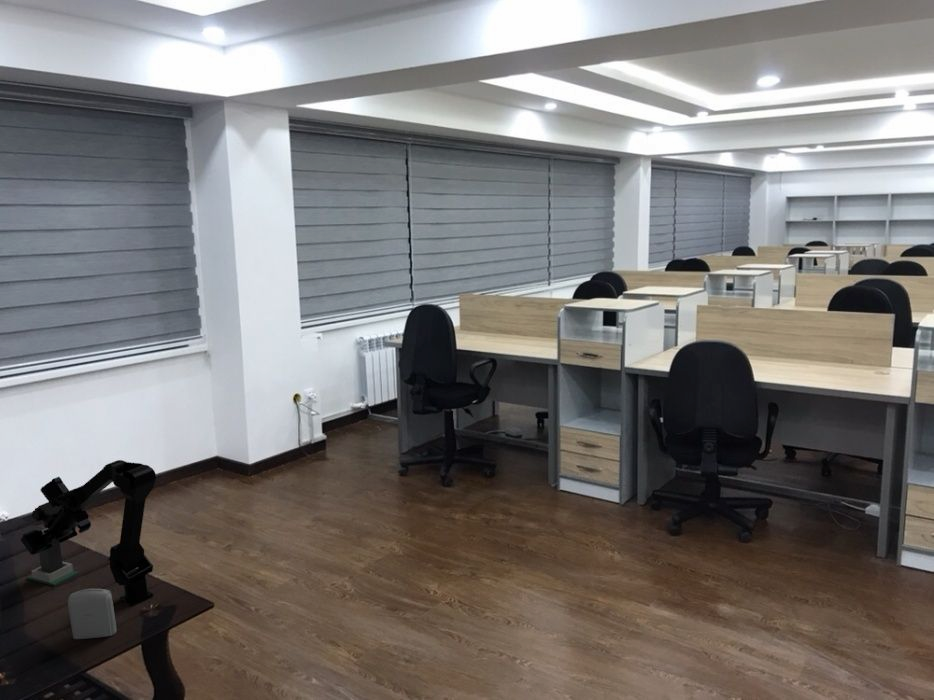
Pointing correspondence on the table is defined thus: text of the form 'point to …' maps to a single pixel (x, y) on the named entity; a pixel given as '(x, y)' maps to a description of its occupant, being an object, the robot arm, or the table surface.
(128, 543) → the robot arm
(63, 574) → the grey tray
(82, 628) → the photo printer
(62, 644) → the table surface
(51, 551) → the plug
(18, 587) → the table surface
